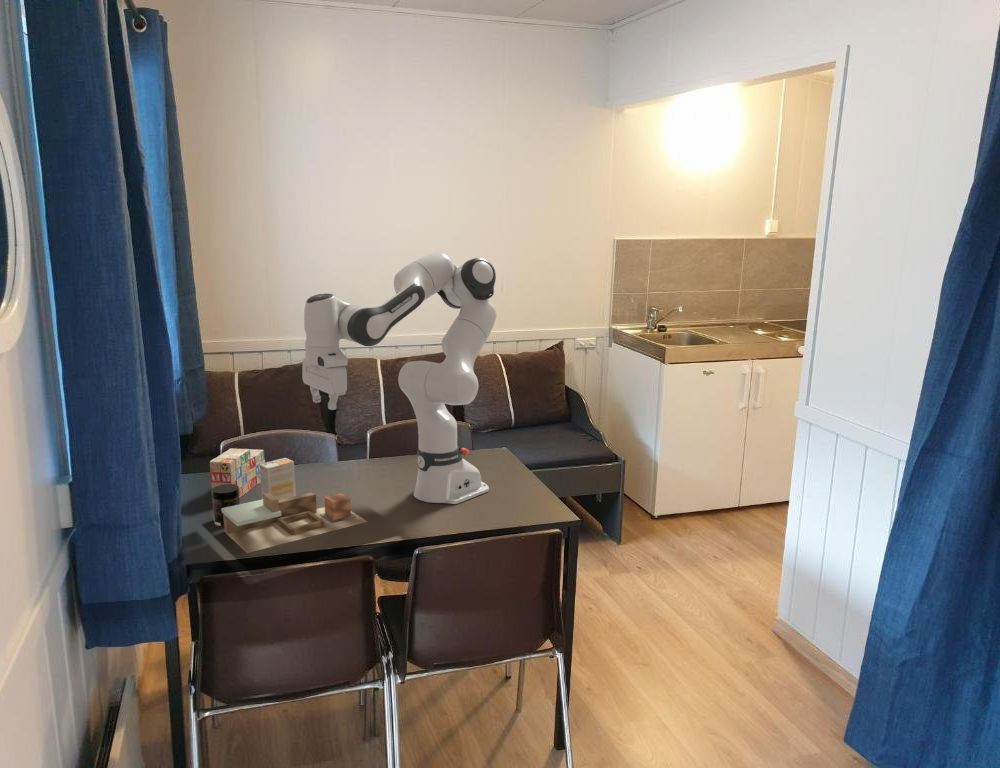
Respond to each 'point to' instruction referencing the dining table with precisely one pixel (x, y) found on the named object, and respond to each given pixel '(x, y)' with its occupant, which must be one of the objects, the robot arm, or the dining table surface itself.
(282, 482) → the supplement box
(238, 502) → the supplement container
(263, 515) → the cover
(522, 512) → the dining table surface
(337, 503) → the block
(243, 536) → the board
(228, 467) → the stack of blocks
